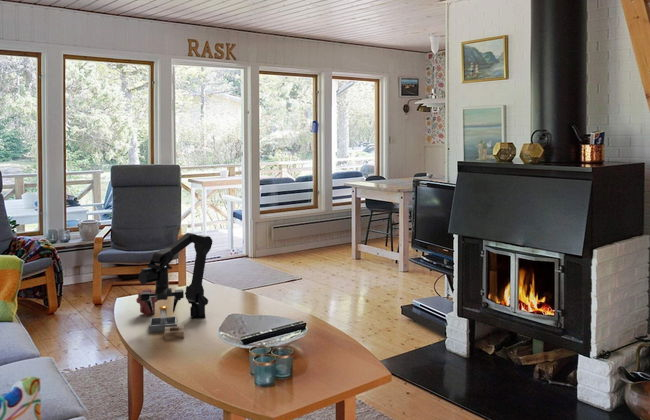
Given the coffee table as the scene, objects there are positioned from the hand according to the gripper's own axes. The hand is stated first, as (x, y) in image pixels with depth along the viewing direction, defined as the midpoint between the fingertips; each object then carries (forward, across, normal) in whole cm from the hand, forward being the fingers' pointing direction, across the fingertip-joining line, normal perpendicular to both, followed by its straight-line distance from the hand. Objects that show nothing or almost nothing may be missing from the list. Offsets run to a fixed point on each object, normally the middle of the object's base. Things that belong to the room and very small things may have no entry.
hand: (163, 313), depth 269 cm
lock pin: (+6, 0, 0) cm, 6 cm away
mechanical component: (+7, -8, +22) cm, 24 cm away
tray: (+7, 0, 0) cm, 7 cm away
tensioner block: (+7, +5, -13) cm, 15 cm away
